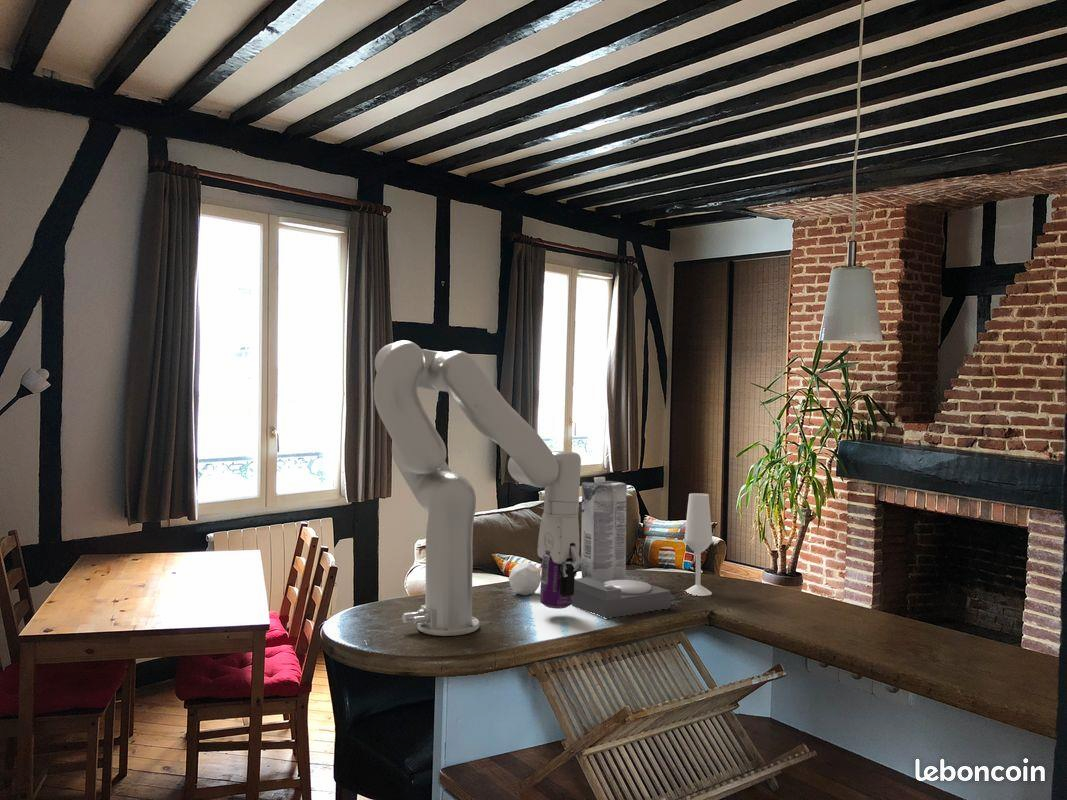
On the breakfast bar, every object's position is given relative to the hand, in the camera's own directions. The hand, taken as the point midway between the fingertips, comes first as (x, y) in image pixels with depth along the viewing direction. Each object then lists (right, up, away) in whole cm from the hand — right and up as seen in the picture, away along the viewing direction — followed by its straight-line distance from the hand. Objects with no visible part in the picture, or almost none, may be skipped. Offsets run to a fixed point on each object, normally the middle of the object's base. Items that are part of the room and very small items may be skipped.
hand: (557, 590), depth 172 cm
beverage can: (0, -4, 0) cm, 4 cm away
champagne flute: (+35, -6, +23) cm, 43 cm away
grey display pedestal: (+15, -6, +9) cm, 18 cm away
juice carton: (+13, -6, +33) cm, 36 cm away
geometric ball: (-7, -6, +20) cm, 22 cm away
